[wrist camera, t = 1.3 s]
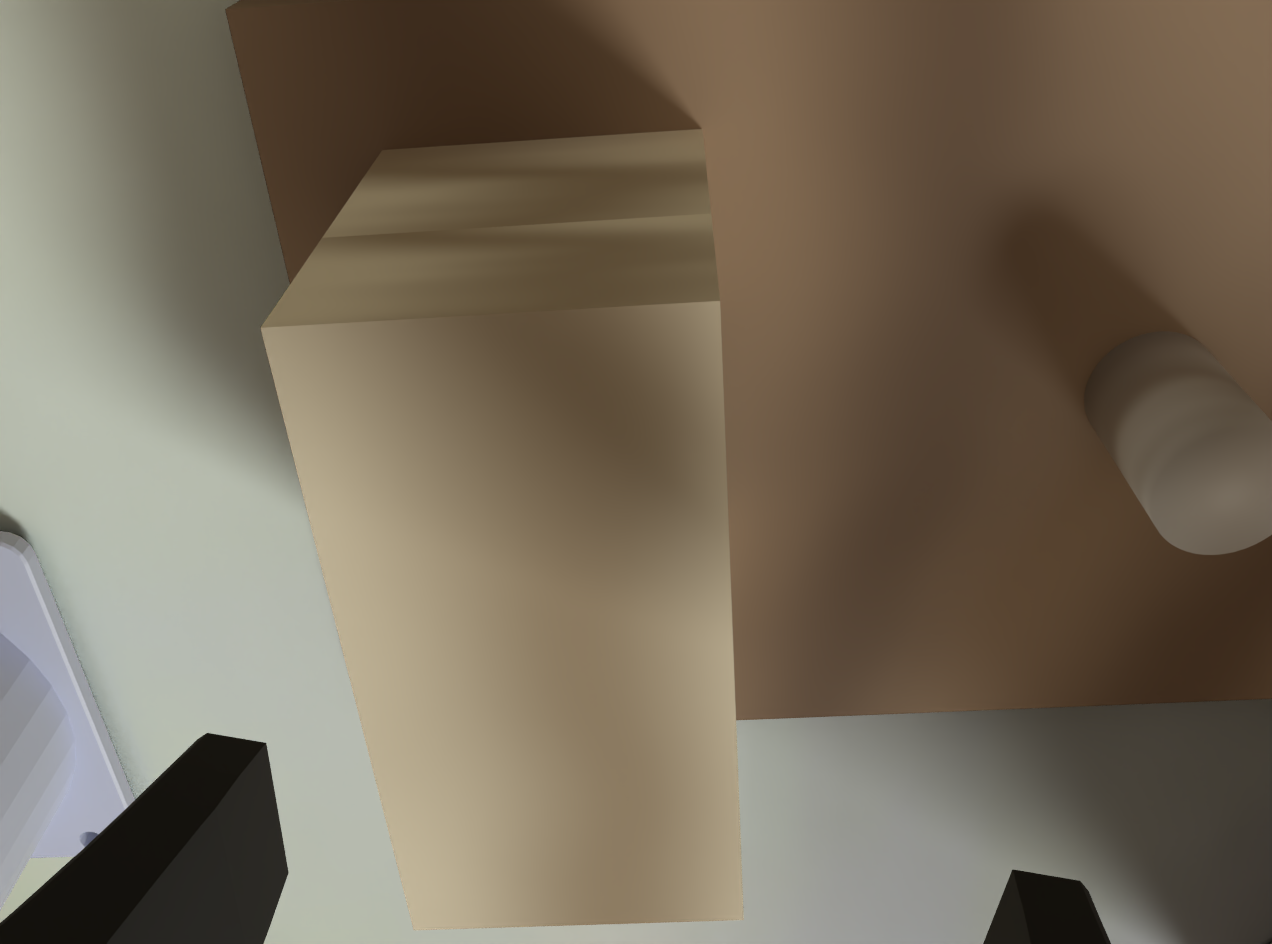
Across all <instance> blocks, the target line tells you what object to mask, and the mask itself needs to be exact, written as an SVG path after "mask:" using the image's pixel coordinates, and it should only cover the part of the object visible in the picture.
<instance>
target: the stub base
mask: <svg viewBox="0 0 1272 944" xmlns="http://www.w3.org/2000/svg"><path fill="white" fill-rule="evenodd" d="M225 10H226V15H227V19H228V23H229V27H230V32H231V36H232V40H233V44H234V49H235V53H236V57H237V61H238V66H239V70H240V74H241V78H242V83H243V87H244V91H245V95H246V99H247V104H248V108H249V112H250V116H251V121H252V125H253V129H254V133H255V138H256V142H257V146H258V150H259V155H260V159H261V163H262V167H263V172H264V176H265V180H266V184H267V189H268V193H269V197H270V201H271V205H272V210H273V214H274V218H275V222H276V227H277V231H278V235H279V239H280V244H281V248H282V252H283V256H284V261H285V265H286V269H287V273H288V278H289V282H290V284H291V282H292V281H293V280H294V278H295V277H296V275H297V274H298V272H299V271H300V269H301V268H302V266H303V265H304V264H305V262H306V261H307V259H308V258H309V256H310V255H311V253H312V252H313V250H314V249H315V248H316V246H317V245H318V243H319V242H320V240H321V239H322V237H323V236H324V234H325V233H326V231H327V230H328V229H329V227H330V226H331V224H332V223H333V221H334V220H335V218H336V217H337V215H338V214H339V213H340V211H341V210H342V208H343V207H344V205H345V204H346V202H347V201H348V199H349V198H350V197H351V195H352V194H353V192H354V191H355V189H356V188H357V186H358V185H359V183H360V182H361V180H362V179H363V178H364V176H365V175H366V173H367V172H368V170H369V169H370V167H371V166H372V164H373V163H374V162H375V160H376V159H377V157H378V156H379V154H380V153H381V151H382V150H391V149H407V148H422V147H437V146H452V145H467V144H482V143H497V142H512V141H527V140H542V139H557V138H572V137H587V136H602V135H617V134H632V133H647V132H663V131H678V130H693V129H702V131H703V140H704V150H705V160H706V169H707V179H708V188H709V198H710V208H711V217H712V227H713V237H714V246H715V256H716V266H717V275H718V285H719V295H720V310H721V337H722V363H723V389H724V416H725V442H726V469H727V495H728V522H729V548H730V574H731V601H732V627H733V654H734V680H735V706H736V720H754V719H779V718H804V717H829V716H853V715H878V714H903V713H928V712H953V711H978V710H1002V709H1027V708H1052V707H1077V706H1102V705H1127V704H1152V703H1176V702H1201V701H1226V700H1251V699H1272V0H240V1H238V2H237V3H235V4H233V5H232V6H230V7H228V8H227V9H225Z"/></svg>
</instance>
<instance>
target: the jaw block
mask: <svg viewBox="0 0 1272 944" xmlns="http://www.w3.org/2000/svg"><path fill="white" fill-rule="evenodd" d="M261 332H262V336H263V340H264V344H265V348H266V352H267V356H268V360H269V364H270V368H271V372H272V376H273V379H274V383H275V387H276V391H277V395H278V399H279V403H280V407H281V411H282V415H283V419H284V423H285V427H286V431H287V434H288V438H289V442H290V446H291V450H292V454H293V458H294V462H295V466H296V470H297V474H298V478H299V482H300V485H301V489H302V493H303V497H304V501H305V505H306V509H307V513H308V517H309V521H310V525H311V529H312V533H313V537H314V540H315V544H316V548H317V552H318V556H319V560H320V564H321V568H322V572H323V576H324V580H325V584H326V588H327V591H328V595H329V599H330V603H331V607H332V611H333V615H334V619H335V623H336V627H337V631H338V635H339V639H340V643H341V646H342V650H343V654H344V658H345V662H346V666H347V670H348V674H349V678H350V682H351V686H352V690H353V694H354V697H355V701H356V705H357V709H358V713H359V717H360V721H361V725H362V729H363V733H364V737H365V741H366V745H367V749H368V752H369V756H370V760H371V764H372V768H373V772H374V776H375V780H376V784H377V788H378V792H379V796H380V800H381V803H382V807H383V811H384V815H385V819H386V823H387V827H388V831H389V835H390V839H391V843H392V847H393V851H394V855H395V858H396V862H397V866H398V870H399V874H400V878H401V882H402V886H403V890H404V894H405V898H406V902H407V906H408V909H409V913H410V917H411V921H412V925H413V929H414V930H437V929H469V928H501V927H533V926H564V925H596V924H628V923H660V922H692V921H723V920H744V918H743V891H742V865H741V838H740V812H739V786H738V759H737V733H736V706H735V680H734V654H733V627H732V601H731V574H730V548H729V522H728V495H727V469H726V442H725V416H724V389H723V363H722V337H721V310H720V295H719V285H718V275H717V266H716V256H715V246H714V237H713V227H712V217H711V208H710V198H709V188H708V179H707V169H706V160H705V150H704V140H703V131H702V129H693V130H678V131H663V132H647V133H632V134H617V135H602V136H587V137H572V138H557V139H542V140H527V141H512V142H497V143H482V144H467V145H452V146H437V147H422V148H407V149H391V150H382V151H381V153H380V154H379V156H378V157H377V159H376V160H375V162H374V163H373V164H372V166H371V167H370V169H369V170H368V172H367V173H366V175H365V176H364V178H363V179H362V180H361V182H360V183H359V185H358V186H357V188H356V189H355V191H354V192H353V194H352V195H351V197H350V198H349V199H348V201H347V202H346V204H345V205H344V207H343V208H342V210H341V211H340V213H339V214H338V215H337V217H336V218H335V220H334V221H333V223H332V224H331V226H330V227H329V229H328V230H327V231H326V233H325V234H324V236H323V237H322V239H321V240H320V242H319V243H318V245H317V246H316V248H315V249H314V250H313V252H312V253H311V255H310V256H309V258H308V259H307V261H306V262H305V264H304V265H303V266H302V268H301V269H300V271H299V272H298V274H297V275H296V277H295V278H294V280H293V281H292V282H291V284H290V285H289V287H288V288H287V290H286V291H285V293H284V294H283V296H282V297H281V298H280V300H279V301H278V303H277V304H276V306H275V307H274V309H273V310H272V312H271V313H270V315H269V316H268V317H267V319H266V320H265V322H264V323H263V325H262V326H261Z"/></svg>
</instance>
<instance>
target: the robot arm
mask: <svg viewBox="0 0 1272 944" xmlns="http://www.w3.org/2000/svg"><path fill="white" fill-rule="evenodd" d="M72 856H75V857H74V858H73V859H72V860H70V861H69V862H68V863H67V864H66V865H65V866H64V867H63V868H62V869H60V870H59V871H58V872H57V873H56V874H55V875H54V876H53V877H52V878H50V879H49V880H48V881H47V882H46V883H45V884H44V885H43V886H42V887H40V888H39V889H38V890H37V891H36V892H35V893H34V894H33V895H32V896H30V897H29V898H28V899H27V900H26V901H25V902H24V903H23V904H22V905H20V906H19V907H18V908H17V909H16V910H15V911H14V912H13V913H11V914H10V915H9V916H8V917H7V918H6V919H5V920H3V921H2V922H1V923H0V944H263V943H264V940H265V938H266V935H267V932H268V930H269V927H270V924H271V921H272V918H273V916H274V913H275V910H276V907H277V904H278V901H279V898H280V895H281V893H282V890H283V887H284V884H285V881H286V878H287V875H288V867H287V862H286V856H285V850H284V844H283V838H282V832H281V827H280V821H279V815H278V809H277V803H276V797H275V792H274V786H273V780H272V774H271V768H270V762H269V757H268V751H267V745H266V743H263V742H257V741H251V740H245V739H239V738H234V737H228V736H222V735H216V734H210V733H207V734H205V735H203V736H202V737H200V738H199V739H198V740H197V741H195V742H194V743H193V744H192V745H191V746H190V747H189V748H188V749H187V750H186V751H185V752H184V753H183V754H182V755H181V756H180V757H179V758H178V759H177V760H176V761H175V762H174V763H173V764H172V765H171V766H170V767H169V768H168V769H167V770H166V771H165V772H163V773H162V774H161V775H160V776H159V777H158V778H157V779H156V780H155V781H154V782H153V783H152V784H151V785H150V786H149V787H148V788H147V789H146V790H145V791H144V792H143V793H142V794H141V795H140V796H139V797H138V798H137V799H136V800H135V798H134V796H133V793H132V791H131V788H130V786H129V783H128V781H127V779H126V776H125V774H124V771H123V769H122V766H121V764H120V761H119V759H118V756H117V754H116V751H115V749H114V746H113V744H112V741H111V739H110V736H109V734H108V731H107V729H106V726H105V724H104V721H103V719H102V717H101V714H100V712H99V709H98V707H97V704H96V702H95V699H94V697H93V694H92V692H91V689H90V687H89V684H88V682H87V679H86V677H85V674H84V672H83V669H82V667H81V664H80V662H79V659H78V657H77V655H76V652H75V650H74V647H73V645H72V642H71V640H70V637H69V635H68V632H67V630H66V627H65V625H64V622H63V620H62V617H61V615H60V612H59V610H58V607H57V605H56V602H55V600H54V597H53V595H52V593H51V590H50V588H49V585H48V583H47V580H46V578H45V575H44V573H43V570H42V568H41V565H40V563H39V560H38V558H37V555H36V553H35V551H34V550H33V548H32V547H31V545H30V544H29V543H28V542H27V541H25V540H24V539H23V538H22V537H20V536H17V535H15V534H13V533H10V532H2V531H0V910H1V908H2V907H3V905H4V903H5V901H6V900H7V898H8V896H9V894H10V893H11V891H12V889H13V887H14V885H15V884H16V882H17V880H18V878H19V877H20V875H21V873H22V871H23V870H24V868H25V866H26V864H27V863H28V861H29V859H30V858H43V857H72ZM983 944H1111V943H1110V940H1109V938H1108V936H1107V934H1106V931H1105V929H1104V927H1103V924H1102V922H1101V920H1100V917H1099V915H1098V913H1097V910H1096V908H1095V906H1094V903H1093V901H1092V898H1091V896H1090V894H1089V891H1088V890H1087V889H1086V888H1085V886H1084V885H1083V884H1082V883H1081V881H1077V880H1071V879H1066V878H1060V877H1054V876H1048V875H1042V874H1036V873H1030V872H1024V871H1018V870H1012V872H1011V875H1010V877H1009V880H1008V883H1007V885H1006V888H1005V890H1004V893H1003V895H1002V898H1001V900H1000V903H999V905H998V908H997V910H996V913H995V915H994V918H993V920H992V923H991V926H990V928H989V931H988V933H987V936H986V938H985V941H984V943H983Z"/></svg>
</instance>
